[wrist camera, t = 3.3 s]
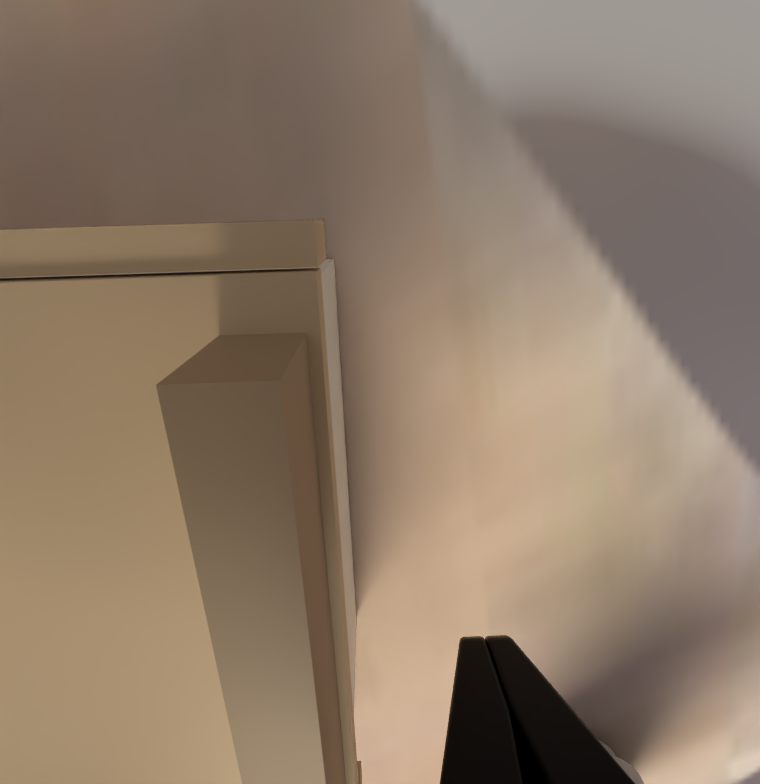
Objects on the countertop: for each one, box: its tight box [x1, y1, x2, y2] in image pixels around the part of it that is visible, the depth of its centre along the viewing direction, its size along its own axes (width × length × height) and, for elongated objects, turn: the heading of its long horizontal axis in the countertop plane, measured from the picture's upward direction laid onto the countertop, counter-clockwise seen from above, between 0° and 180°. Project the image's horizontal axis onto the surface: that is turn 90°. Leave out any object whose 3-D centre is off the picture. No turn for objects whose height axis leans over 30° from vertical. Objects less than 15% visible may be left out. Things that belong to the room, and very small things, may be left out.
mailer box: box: [0, 259, 357, 715], centre depth 11 cm, size 12×14×5 cm
